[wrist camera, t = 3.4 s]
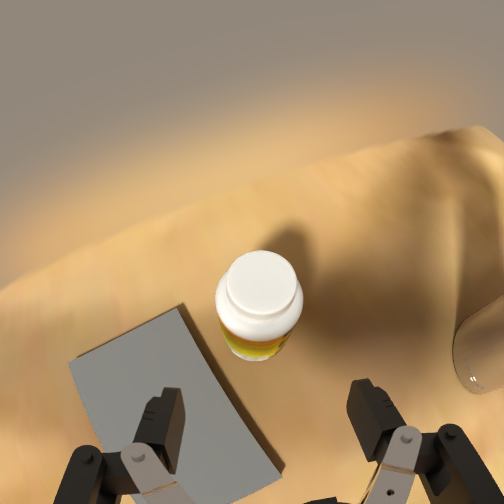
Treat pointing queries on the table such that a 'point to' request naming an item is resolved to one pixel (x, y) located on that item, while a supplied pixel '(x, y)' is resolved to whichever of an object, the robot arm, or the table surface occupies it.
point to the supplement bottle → (258, 304)
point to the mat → (195, 402)
